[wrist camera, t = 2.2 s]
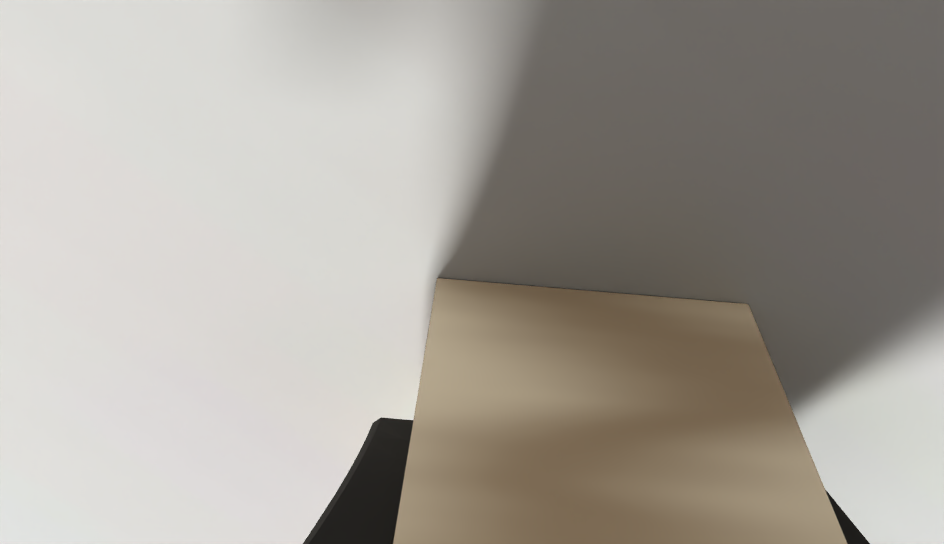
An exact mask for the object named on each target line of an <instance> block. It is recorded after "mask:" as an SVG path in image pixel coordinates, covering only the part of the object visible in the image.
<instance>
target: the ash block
mask: <svg viewBox="0 0 944 544" xmlns="http://www.w3.org/2000/svg"><path fill="white" fill-rule="evenodd" d="M393 544H847V542H846V539H845V537H844V534H843V532H842V529H841V527H840V525H839V522H838V520H837V517H836V515H835V513H834V510H833V508H832V505H831V503H830V500H829V498H828V496H827V493H826V491H825V488H824V486H823V484H822V481H821V479H820V476H819V474H818V471H817V469H816V467H815V464H814V462H813V459H812V457H811V455H810V452H809V450H808V447H807V445H806V442H805V440H804V438H803V435H802V433H801V430H800V428H799V426H798V423H797V421H796V418H795V416H794V413H793V411H792V409H791V406H790V404H789V401H788V399H787V397H786V394H785V392H784V389H783V387H782V384H781V382H780V380H779V377H778V375H777V372H776V370H775V368H774V365H773V363H772V360H771V358H770V355H769V353H768V351H767V348H766V346H765V343H764V341H763V339H762V336H761V334H760V331H759V329H758V326H757V324H756V322H755V319H754V317H753V314H752V312H751V310H750V307H749V305H748V304H741V303H729V302H717V301H705V300H693V299H681V298H669V297H657V296H645V295H633V294H621V293H609V292H597V291H585V290H573V289H561V288H549V287H537V286H525V285H513V284H501V283H490V282H478V281H466V280H454V279H442V278H437V282H436V288H435V294H434V300H433V306H432V312H431V318H430V324H429V330H428V336H427V342H426V348H425V354H424V360H423V366H422V372H421V378H420V384H419V390H418V396H417V402H416V408H415V415H414V421H413V427H412V433H411V439H410V445H409V451H408V457H407V463H406V469H405V475H404V481H403V487H402V493H401V499H400V505H399V511H398V517H397V523H396V529H395V535H394V541H393Z"/></svg>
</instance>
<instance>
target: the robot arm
mask: <svg viewBox="0 0 944 544" xmlns="http://www.w3.org/2000/svg"><path fill="white" fill-rule="evenodd" d="M413 421H414V420H402V419H391V418H380V419H378V420H377V421H375V422H374V423H373V424H372V426H371V429H370V431H369V433H368V436H367V438H366V440H365V442H364V444H363V446H362V448H361V450H360V452H359V454H358V456H357V458H356V460H355V461H354V463H353V465H352V467H351V469H350V470H349V472H348V474H347V476H346V477H345V479H344V481H343V482H342V484H341V486H340V487H339V489H338V491H337V492H336V494H335V496H334V497H333V499H332V500H331V502H330V503H329V505H328V506H327V508H326V509H325V511H324V513H323V514H322V516H321V517H320V519H319V520H318V522H317V523H316V525H315V526H314V528H313V530H312V531H311V533H310V534H309V536H308V537H307V538H306V540H305V541H304V543H303V544H393V541H394V535H395V529H396V523H397V517H398V511H399V505H400V499H401V493H402V487H403V481H404V475H405V469H406V463H407V457H408V451H409V445H410V439H411V433H412V427H413ZM825 491H826V490H825ZM826 493H827V496H828V498H829V500H830V503H831V505H832V508H833V510H834V513H835V515H836V517H837V520H838V522H839V525H840V527H841V529H842V532H843V534H844V537H845V539H846V542H847V544H870V543H869V542H868V541H867V540H866V539H865V537H864V536H863V535H862V534H861V532H860V531H859V530H858V529H857V528H856V526H855V525H854V524H853V523H852V522H851V520H850V519H849V518H848V517H847V515H846V514H845V513H844V512H843V511H842V509H841V508H840V507H839V506H838V504H837V503H836V502H835V501H834V499H833V498H832V497H831V496H830V495H829V493H828V492H827V491H826Z"/></svg>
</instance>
